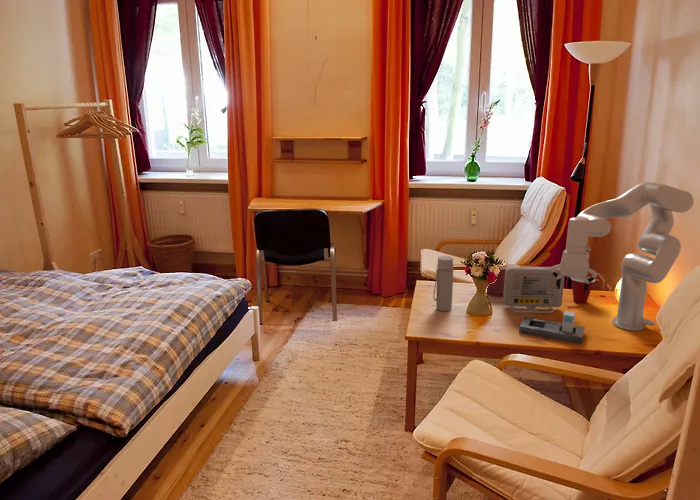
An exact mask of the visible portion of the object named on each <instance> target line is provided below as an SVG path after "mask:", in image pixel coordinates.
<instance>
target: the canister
mask: <svg viewBox="0 0 700 500" xmlns="http://www.w3.org/2000/svg"><path fill="white" fill-rule="evenodd" d="M498 259H499V260H500V261H501V262H503V265H499V268H500V272H499V274H498V277H497V280H496V281H495V282H494V283H492V284H489V286H488V288H487V294H486V295H489V296H492V297H493V296H494V297H503V295H504V282H505V269H506V268H507V267H510V265H509V264H508V263H506V262H505V261H502V260H501V259H500V258H498Z"/></svg>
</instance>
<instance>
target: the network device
mask: <svg viewBox="0 0 700 500" xmlns="http://www.w3.org/2000/svg"><path fill="white" fill-rule="evenodd" d="M551 267H552V266H509V267H507V268H506V269H505V282H504V295H503V296H502V297H503V298H502V299H503V301H502V302H504V303H503V304H504V305H505V306H506V307H509V308H510V309H511V311H512V312H515V313H525V314H527V313H532V314H536V313H537V314H539V313H540V314H553V313H554V312H555V311H554V308H561V306H562V304H563V296H564V295H563V293H564V285H565V277H566V276H562V277H561V285H560V289H557V288H558V286H556V281H557V279H556V278H555V276H554V275H553V273H552V271H551V269H550V268H551ZM555 271H556V273H557V274H559V273H560V268H558V269H555ZM514 307H525V308H527V309H528V310H523V309H522V310H521V309H520V310H517V309H515V308H514ZM536 308H548V310H537V309H536Z"/></svg>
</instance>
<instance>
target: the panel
mask: <svg viewBox="0 0 700 500" xmlns="http://www.w3.org/2000/svg"><path fill="white" fill-rule="evenodd" d="M562 323H563V322H558V321H553V320H552V321H550V320H545V319H539V318H534V317H527V316H524V317H523V319H522V321H521V323H520V325H519V328H518V329H519V330H518V333H519V334H524V335H529V336H535V337H539V338H540V337H541V338H543V339H544V338H545V339H550V340H557V341H560V342H564V343H565V342H567V343H571V344H576V345H582V343H583V340H584V335H585V326H581V325H580V326H579V325H575V324H574V328H573V333H568V332H562Z"/></svg>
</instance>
